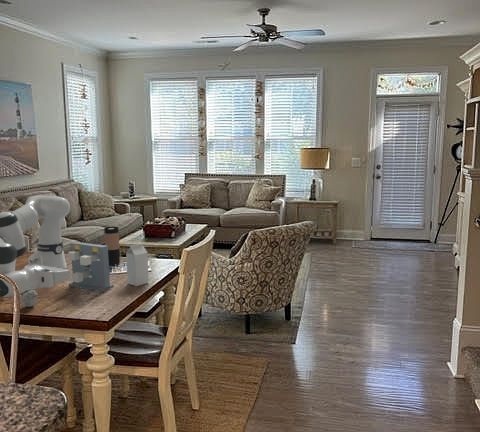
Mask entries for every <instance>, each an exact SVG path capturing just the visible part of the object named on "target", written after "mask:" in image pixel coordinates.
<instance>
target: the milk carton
mask: <svg viewBox="0 0 480 432" xmlns="http://www.w3.org/2000/svg"><path fill="white" fill-rule="evenodd" d="M125 254H126V255H125V257H126V276H127V277H126V279H127V281H126V282H127V284H128V285H130V286H131V285H132V286H134V287H139V286H143V285H146V284H149V282H150V281H149V258H148V257H149V256H148V250H147V249H146V248H145V246H144V244H143V243H142V242H141V243H137V244H131V245H130V246H129V248H128V250H127V251H126V252H125Z"/></svg>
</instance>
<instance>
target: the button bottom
mask: <svg viewBox="0 0 480 432" xmlns="http://www.w3.org/2000/svg"><path fill="white" fill-rule="evenodd" d="M89 276H91V270H88V271H85V272H82V273H79V272H76V273H73V274H72V273H71V281H72V282H78V283H79V282H81V281H83V279H84V278H86V277H89ZM72 282H71V283H72Z"/></svg>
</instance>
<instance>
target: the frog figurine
mask: <svg viewBox="0 0 480 432" xmlns="http://www.w3.org/2000/svg"><path fill="white" fill-rule="evenodd" d="M38 298H39V293H37V292H36V289H32V290H27V291H26V292H24V293H22V295H21V299H20V300H21V302H22V303H23V305H24V306H25V307H26V308H31V307H34V305H36V303H37V299H38Z"/></svg>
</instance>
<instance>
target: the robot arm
mask: <svg viewBox="0 0 480 432" xmlns="http://www.w3.org/2000/svg"><path fill="white" fill-rule="evenodd" d="M70 211H71V204H70V202H69V200H68V199H67V198H65V197H62V196H58V195H43V194H42V195H41V194H37V195H33V196H29V197H28V198H27V199H26V201H25V204H24V205H23V206H21V207H19V208H17V209H15V210H12V211H2V212H0V273H1V274H3V275H5V276H7V277H9V278H11V279H12V280H13V281H14V282H15V283H16V285H17V286H18V288H19V291H20V294H24V293H26V292H27V291H29V290H36V289H42V288H53V287H54V286H55V285H59V284H61V283H64V282H67V281H69V280H70V278H71V272H70V271H71V270H70V269H67V267H68V266H67V265H68V263H67V262H66V257H65V252H64V250H63V249H64V244H63V241H62V226H63V221H64V219H65V218H66V216H68V214H69V213H70ZM39 219H43V223H42V224H41V225H40V226H39V227H38V230H37V233H38V234H37V235H38V243H37V244H35V248H36V251H35V252H33V253H32V254H31V255H30V256H29V257H28V264H27V265H24V266H23V268H22V269H20V270H16V262H17V261H16V260H17V258H19V257H21V256H23V255H24V254H25V253H26V251H27V244H26V239H25V234H24V233H25V232H26V231H28V230H30V229H32V228H33V227H35V226H37V224H38V223H39ZM20 294H19V295H20ZM14 296H15V295H14V293H13V288H12V286H11V284H10V283H8V282H7V281H5V280H4V279H2V278H0V298H9V297H14Z"/></svg>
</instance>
